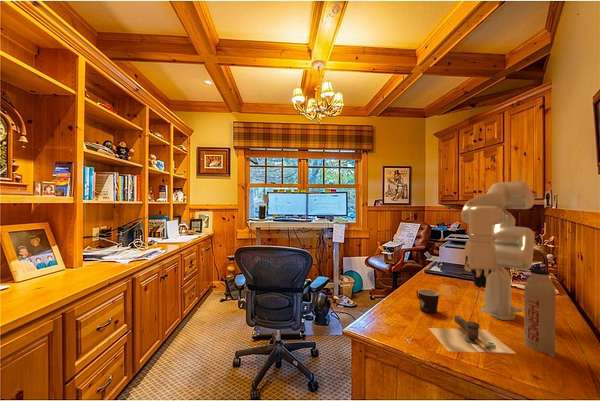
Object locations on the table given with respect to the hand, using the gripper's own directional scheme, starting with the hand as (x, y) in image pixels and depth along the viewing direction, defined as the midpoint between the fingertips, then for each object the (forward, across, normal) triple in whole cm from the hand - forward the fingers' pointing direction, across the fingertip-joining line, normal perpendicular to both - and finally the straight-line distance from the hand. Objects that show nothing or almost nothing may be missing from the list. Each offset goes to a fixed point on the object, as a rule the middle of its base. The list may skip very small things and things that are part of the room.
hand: (480, 286), depth 102 cm
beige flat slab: (+19, +8, +6) cm, 21 cm away
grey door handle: (+17, +6, +5) cm, 19 cm away
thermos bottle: (+19, -14, +9) cm, 26 cm away
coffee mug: (+19, +12, -20) cm, 30 cm away
